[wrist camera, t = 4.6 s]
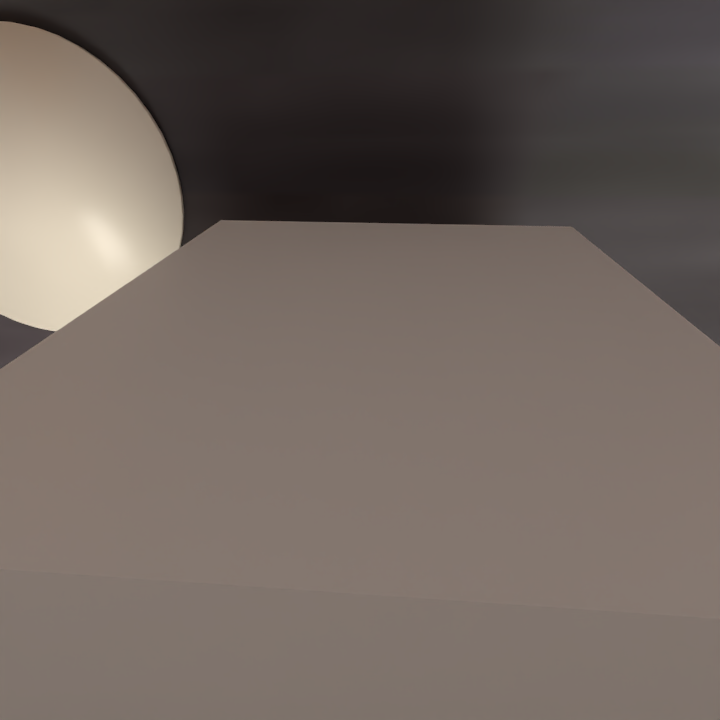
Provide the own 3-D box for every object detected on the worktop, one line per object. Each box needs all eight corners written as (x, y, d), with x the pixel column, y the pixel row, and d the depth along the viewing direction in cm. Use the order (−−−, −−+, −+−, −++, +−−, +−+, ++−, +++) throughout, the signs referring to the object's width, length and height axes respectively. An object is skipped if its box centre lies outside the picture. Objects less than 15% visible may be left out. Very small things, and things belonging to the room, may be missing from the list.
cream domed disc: (158, 20, 13) (154, 19, 12) (201, 332, 16) (199, 335, 16) (-163, 22, 13) (-171, 21, 13) (-52, 327, 16) (-57, 329, 16)
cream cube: (571, 226, 10) (1084, 641, 2) (521, 503, 13) (680, 1072, 6) (221, 220, 11) (-267, 550, 3) (252, 488, 14) (53, 991, 6)
